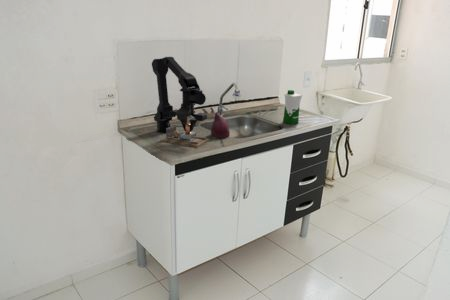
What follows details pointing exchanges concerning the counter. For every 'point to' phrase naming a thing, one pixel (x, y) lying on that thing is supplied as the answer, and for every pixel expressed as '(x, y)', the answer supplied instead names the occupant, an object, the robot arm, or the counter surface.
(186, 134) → the ram
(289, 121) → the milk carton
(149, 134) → the counter surface
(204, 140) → the press bench
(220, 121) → the vegetable
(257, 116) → the counter surface
